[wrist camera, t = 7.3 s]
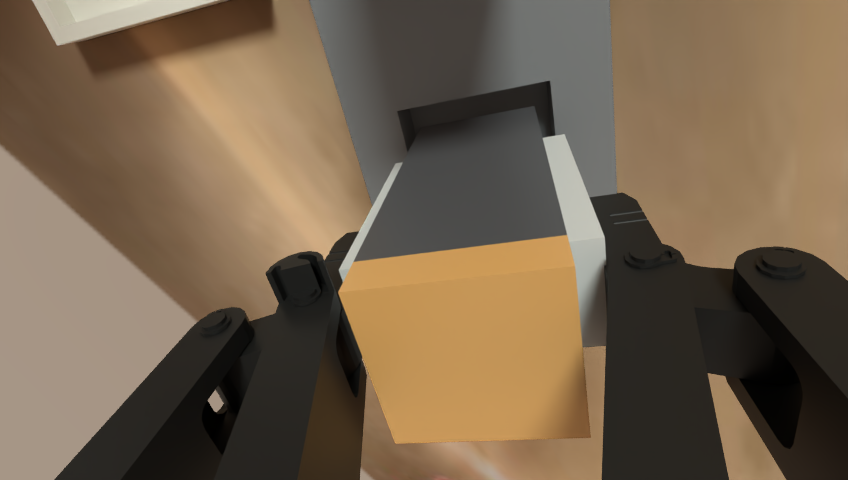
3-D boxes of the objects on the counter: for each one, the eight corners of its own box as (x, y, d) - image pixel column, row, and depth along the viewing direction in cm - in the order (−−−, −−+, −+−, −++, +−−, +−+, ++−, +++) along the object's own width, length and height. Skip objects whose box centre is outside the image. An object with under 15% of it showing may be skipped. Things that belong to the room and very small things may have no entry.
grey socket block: (262, -307, 15) (189, -391, 11) (563, -440, 13) (587, -594, 9) (413, 245, 24) (399, 292, 20) (600, 221, 22) (619, 268, 18)
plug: (420, 127, 17) (338, 292, 8) (534, 105, 16) (574, 265, 7) (443, 225, 19) (395, 443, 10) (546, 211, 18) (590, 437, 9)
